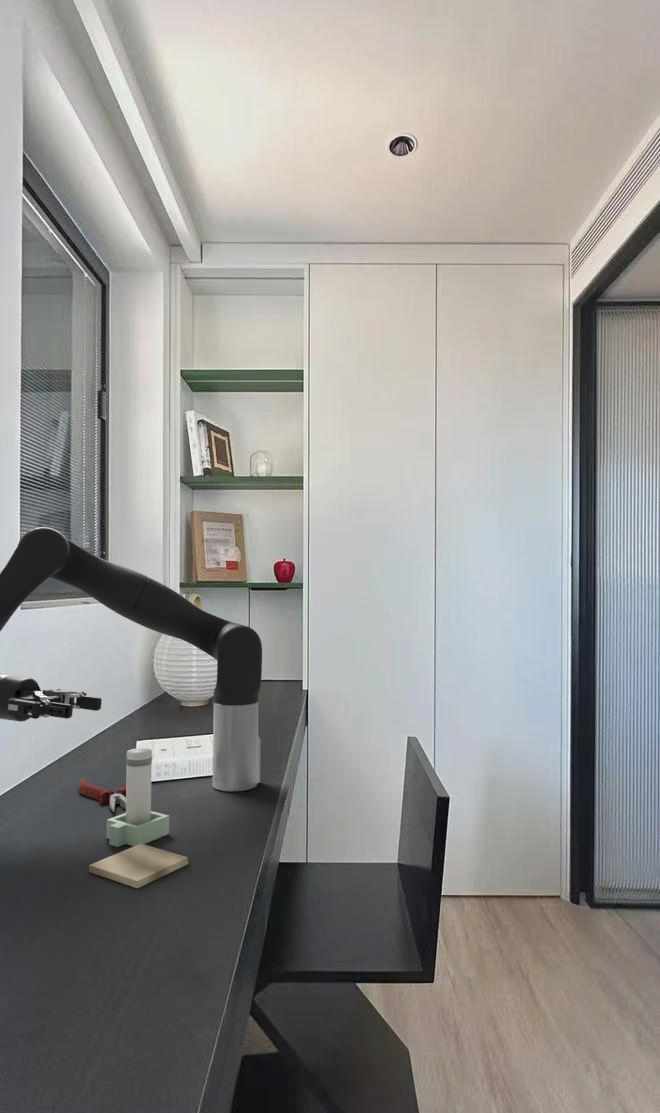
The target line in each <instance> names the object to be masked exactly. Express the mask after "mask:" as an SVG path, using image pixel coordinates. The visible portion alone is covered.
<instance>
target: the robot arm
mask: <svg viewBox="0 0 660 1113" xmlns="http://www.w3.org/2000/svg"><path fill="white" fill-rule="evenodd" d="M49 578H50V579H54V580H57V581H59V582H63V583H64V584H67V585H69V586H72V587H75V588H77V589H78V590H80V591H82V592H84V593H86V594H88V595H89V596H90V597H92V598H93V599H95V600H96V601H97V602H98V603H100V604H101V605H104V606H105V607H106V608H108V609H110V610H112V611H113V612H114V613H116V614H118V615H120V616H122V617H123V618H126V619H127V620H129V621H131V622H134V623H135V624H138V625H139V626H142V627H144V628H147V629H149V630H151V631H154V632H157V633H159V634H163V635H165V636H169V637H172V638H175V639H179V640H181V641H184V642H185V643H188V644H191V646H194V647H196V648H198V649H199V650H200V651H202V652H204V653H205V654H207V655H209V656H210V657H212V658H213V659H214V660H215V661H217V664H216V665H217V666H216V667H217V668H216V684H215V687H214V689H213V716H212V717H213V720H212V721H213V725H212V726H213V727H212V728H213V729H212V730H213V733H212V734H213V735H212V739H213V740H212V788H213V789H216V790H218V791H221V792H243V791H244V792H245V791H249V790H252V789H254V788H256V787H257V786H258V784H259V783H260V782H261V740H262V739H261V737H260V736H259V694H260V689H261V688H262V687H261V686H262V675H263V674H262V672H263V671H262V670H263V646H262V641H261V637H260V635H259V634H258V633H257V631H256V630H255V629H253V628H252V627H249V626H247V625H243V624H241V623H236V622H232V621H231V620H227V619H224V618H222V617H219V616H216V615H214V614H212V613H209V612H207V611H205V610H203V609H201V608H199V607H198V606H196V604H195V605H194V603H192V602H191V601H189V600H188V599H187V598H185V597H184V596H182V595H181V594H180V593H178V592H176V591H175V590H173V589H172V588H170V587H168V586H167V585H165V584H163V583H162V582H159V581H158V580H155V579H153V578H151V577H149V576H147V575H146V574H143V573H141V572H138V571H135V570H134V569H131V568H129V567H126V566H123V565H120V564H117V563H116V562H115V563H114V562H111V561H108V560H106V559H104V558H101V557H99V556H97V555H95V554H93V553H92V552H90V551H88V550H87V549H84V548H83V547H82V546H80V545H78V544H76V543H75V542H73V541H72V540H70V538H68V537H66V536H65V535H64V534H62V533H61V532H60V531H58V530H56V529H54V528H52V527H48V526H47V527H46V526H40V527H35V528H32V529H30V530H28V531H27V532H25V533H24V534H23V535H22V536H21V538H20V539H19V541H18V544H17V546H16V548H15V549H14V551H13V553H12V555H11V557H10V558H9V560H8V561H7V563H6V564H5V566H4V568H3V569H2V570H1V572H0V632H1V631H2V630H3V628H4V627H5V626H6V624H7V623H8V622H9V620H10V619H11V617H12V616H13V615H14V614H15V612H16V611H17V610H18V608H19V607H20V606H21V605H22V604H23V603H24V601H25V600H26V599H27V598H28V597H29V595H31V594H32V593H33V592H34V591H35V590H36V589H37V588H38V587H39V586H40V585H41V584H43V583H44V582H46V581H47V580H48V579H49ZM75 699H76V700H75ZM73 709H77V710H88V711H95V712H97V711H100V710H101V709H102V698H101V697H98V696H89V695H87V692H85V691H77V690H68V689H61V688H57V689H55V690H54V689H52V688H43V689H42V690H41V688H40V685H39V683H38V681H36V680H35V679H33V678H32V677H24V676H17V675H15V676H14V675H8V674H0V719H1V720H6V721H7V720H8V721H14V722H26V721H27V720H30V719H34V720H37V719H40V718H45V719H46V718H47V719H48V718H50V717H54V718H59V719H60V718H61V719H67V720H68V719H71V718H72V717H73Z"/></svg>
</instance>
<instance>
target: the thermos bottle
mask: <svg viewBox="0 0 660 1113" xmlns="http://www.w3.org/2000/svg"><path fill="white" fill-rule="evenodd" d="M125 758H126V760H125V761H126V762H125V764H126V779H125V780H126V783H125V784H126V809H125V813H126V823H129V824H133V825H137V826H138V825H141V824H143V823H146V822H148V821H151V811H152V766H153V765H152V763H153V749H151V748H147V747H139V748H138V747H136V748H131V749H128V750H127V751H126V757H125Z"/></svg>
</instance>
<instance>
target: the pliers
mask: <svg viewBox="0 0 660 1113" xmlns="http://www.w3.org/2000/svg"><path fill="white" fill-rule="evenodd" d="M78 791H79V792H78V793H81V794H82V796H83V795H84V797H86V798H89V797H90V799H92V798H93V799H92V800H96V801H98V802H99V805H104V804H109V808H110V810H111V811H112V813H114V814H115V810H116V806H117V804H120V805H119V807H120V806H121V807H122V809H124V810H126V783H124V785H123V786H122V787H119V788H118V789H117V790H116V793H115V791H113V790H112V789H107V788H103V787H100V786H97V785H93V784H89V783H88V782H87V780H86V778H82V779H80V781H79V782H78ZM81 794H80V795H81ZM121 807H120V808H121Z"/></svg>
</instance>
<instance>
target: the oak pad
mask: <svg viewBox="0 0 660 1113" xmlns="http://www.w3.org/2000/svg"><path fill="white" fill-rule="evenodd" d="M187 865H189V857H188V856H185V855H182V854H179V853H175V852H171V851H169V850H164V849H161V848H157V847H155V846H151V845H147V844H139V845H137V846H131V847H130V848H127V849H124V850H121V851H119V852H118V853H115V854H113V855H110V856H107V857H105V858H103V859H100V860H98V861H96V862H93V863H91V864H89V865H88V869H89V870H88V872H89V873H91V874H93V875H97V876H99V877H100V876H101V877H103V878H106V879H109V880H110V881H111V880H112V881H115V882H116V883H117V882H118V883H120V884H123V885H125V886H129V887H132V888H136V889H140V888H141V887H143V886H145V885H148V884H150V883H152V882H154V881H155V880H158V879H160V878H162V877H164V876H166V875H169V874H171V873H172V872H175V871H176V870H179V869H181V868H183V867H185V866H187Z"/></svg>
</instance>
